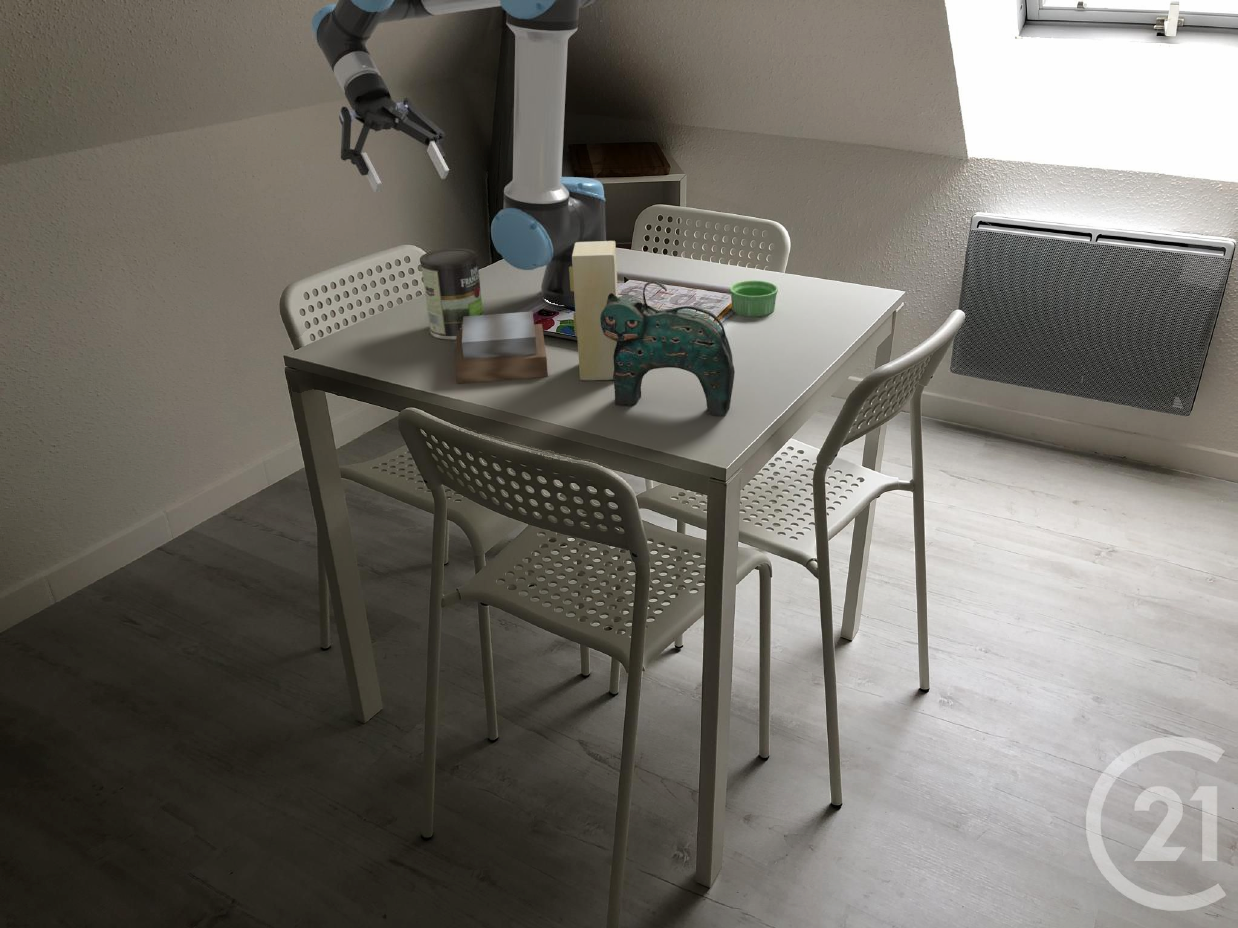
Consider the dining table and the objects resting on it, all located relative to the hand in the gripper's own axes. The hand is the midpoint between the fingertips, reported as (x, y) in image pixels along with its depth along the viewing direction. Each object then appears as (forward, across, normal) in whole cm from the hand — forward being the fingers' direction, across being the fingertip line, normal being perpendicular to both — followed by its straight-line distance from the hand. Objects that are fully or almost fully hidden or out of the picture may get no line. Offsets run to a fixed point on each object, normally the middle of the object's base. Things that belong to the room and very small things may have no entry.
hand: (412, 181), depth 176 cm
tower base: (+38, +2, +2) cm, 39 cm away
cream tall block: (+49, -8, +12) cm, 51 cm away
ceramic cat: (+61, -8, +25) cm, 67 cm away
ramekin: (+47, -47, +10) cm, 67 cm away
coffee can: (+26, 0, -11) cm, 28 cm away
